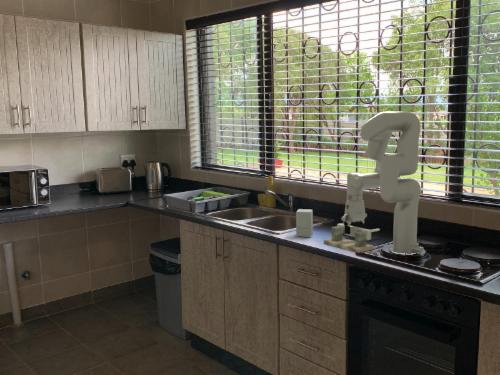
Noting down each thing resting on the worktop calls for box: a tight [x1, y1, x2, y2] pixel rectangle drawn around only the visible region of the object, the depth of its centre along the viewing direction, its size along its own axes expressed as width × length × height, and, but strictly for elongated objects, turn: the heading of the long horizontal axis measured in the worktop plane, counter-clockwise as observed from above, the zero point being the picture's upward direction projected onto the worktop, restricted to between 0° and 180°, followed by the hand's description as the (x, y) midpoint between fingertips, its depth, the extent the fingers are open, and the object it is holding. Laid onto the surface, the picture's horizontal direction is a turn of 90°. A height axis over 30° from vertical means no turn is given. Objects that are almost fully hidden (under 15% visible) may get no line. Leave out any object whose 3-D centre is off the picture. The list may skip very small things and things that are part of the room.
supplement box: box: [295, 208, 314, 238], centre depth 246 cm, size 7×7×13 cm
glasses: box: [336, 223, 381, 241], centre depth 245 cm, size 20×9×5 cm, turn 35°
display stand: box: [323, 225, 375, 254], centre depth 224 cm, size 21×10×8 cm, turn 36°
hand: (354, 232), depth 244 cm, fingers open, 9 cm apart
